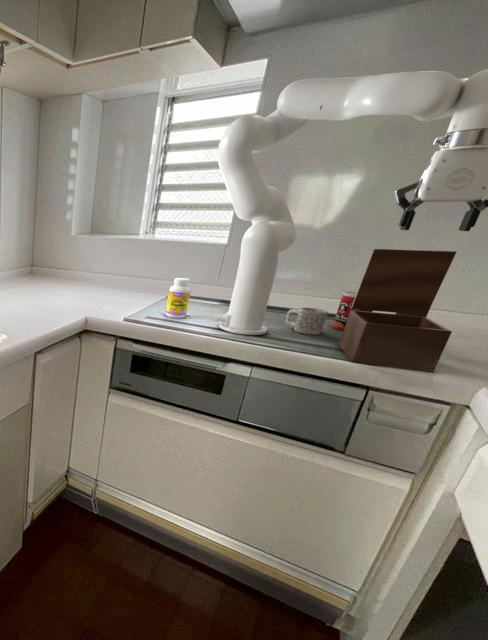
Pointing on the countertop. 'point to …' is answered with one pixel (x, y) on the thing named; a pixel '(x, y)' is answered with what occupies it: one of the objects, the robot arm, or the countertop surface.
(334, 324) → the canned food
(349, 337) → the chest
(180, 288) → the supplement bottle
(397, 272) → the lid
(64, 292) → the countertop surface
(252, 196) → the robot arm
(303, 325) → the mug
